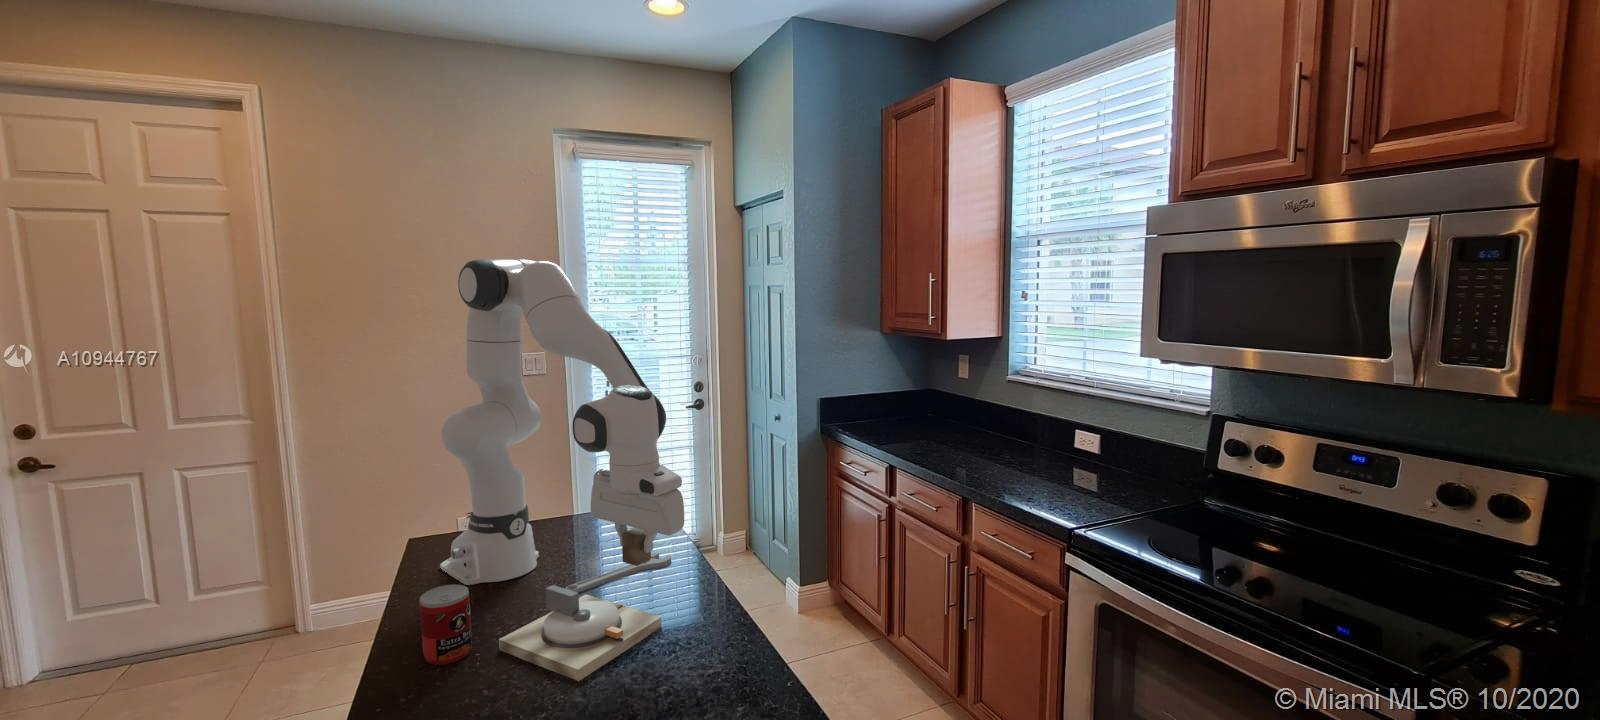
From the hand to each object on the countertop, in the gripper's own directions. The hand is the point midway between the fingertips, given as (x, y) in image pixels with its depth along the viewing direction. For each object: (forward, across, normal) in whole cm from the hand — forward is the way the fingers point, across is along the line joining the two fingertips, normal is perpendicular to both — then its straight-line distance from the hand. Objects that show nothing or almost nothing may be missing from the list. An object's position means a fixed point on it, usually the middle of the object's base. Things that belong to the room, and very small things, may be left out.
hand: (636, 548), depth 124 cm
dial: (+14, -7, -7) cm, 17 cm away
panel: (+16, -7, -7) cm, 19 cm away
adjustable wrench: (+17, -22, +17) cm, 32 cm away
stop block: (+2, 0, 0) cm, 2 cm away
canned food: (+16, -24, -22) cm, 36 cm away
